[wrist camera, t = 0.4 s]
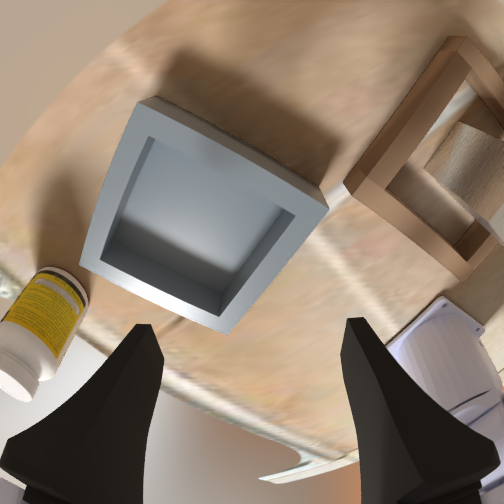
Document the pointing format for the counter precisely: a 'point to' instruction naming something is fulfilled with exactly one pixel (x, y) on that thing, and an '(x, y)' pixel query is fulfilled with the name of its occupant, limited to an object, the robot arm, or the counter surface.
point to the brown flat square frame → (409, 137)
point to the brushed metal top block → (473, 175)
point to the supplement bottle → (39, 331)
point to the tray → (196, 216)
